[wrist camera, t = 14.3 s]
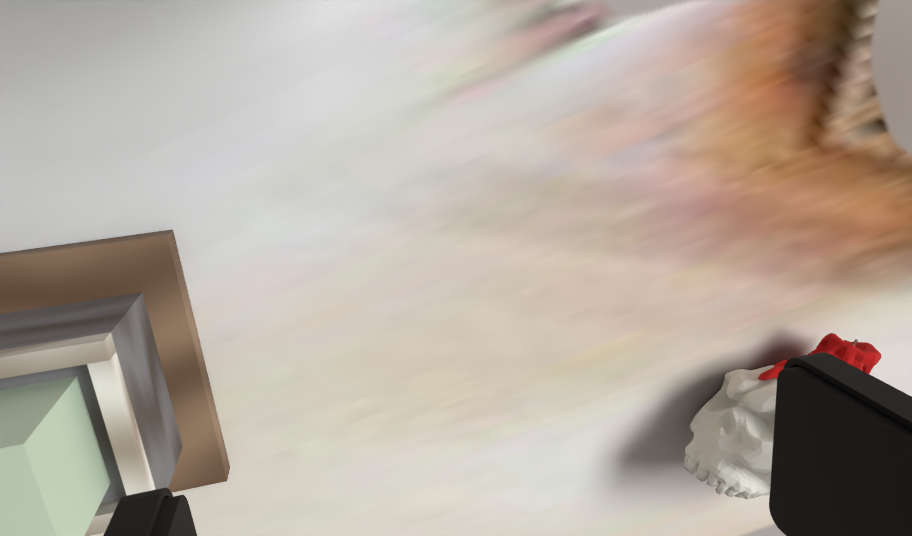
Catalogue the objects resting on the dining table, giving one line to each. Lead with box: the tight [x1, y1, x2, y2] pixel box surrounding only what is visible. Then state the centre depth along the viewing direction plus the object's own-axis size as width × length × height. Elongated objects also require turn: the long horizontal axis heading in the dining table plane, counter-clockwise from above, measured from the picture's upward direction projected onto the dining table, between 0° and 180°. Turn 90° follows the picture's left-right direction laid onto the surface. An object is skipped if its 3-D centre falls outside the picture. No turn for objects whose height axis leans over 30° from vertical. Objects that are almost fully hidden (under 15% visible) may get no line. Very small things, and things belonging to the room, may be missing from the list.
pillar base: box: [0, 230, 230, 536], centre depth 34 cm, size 16×14×8 cm
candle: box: [684, 333, 881, 499], centre depth 45 cm, size 9×11×15 cm
